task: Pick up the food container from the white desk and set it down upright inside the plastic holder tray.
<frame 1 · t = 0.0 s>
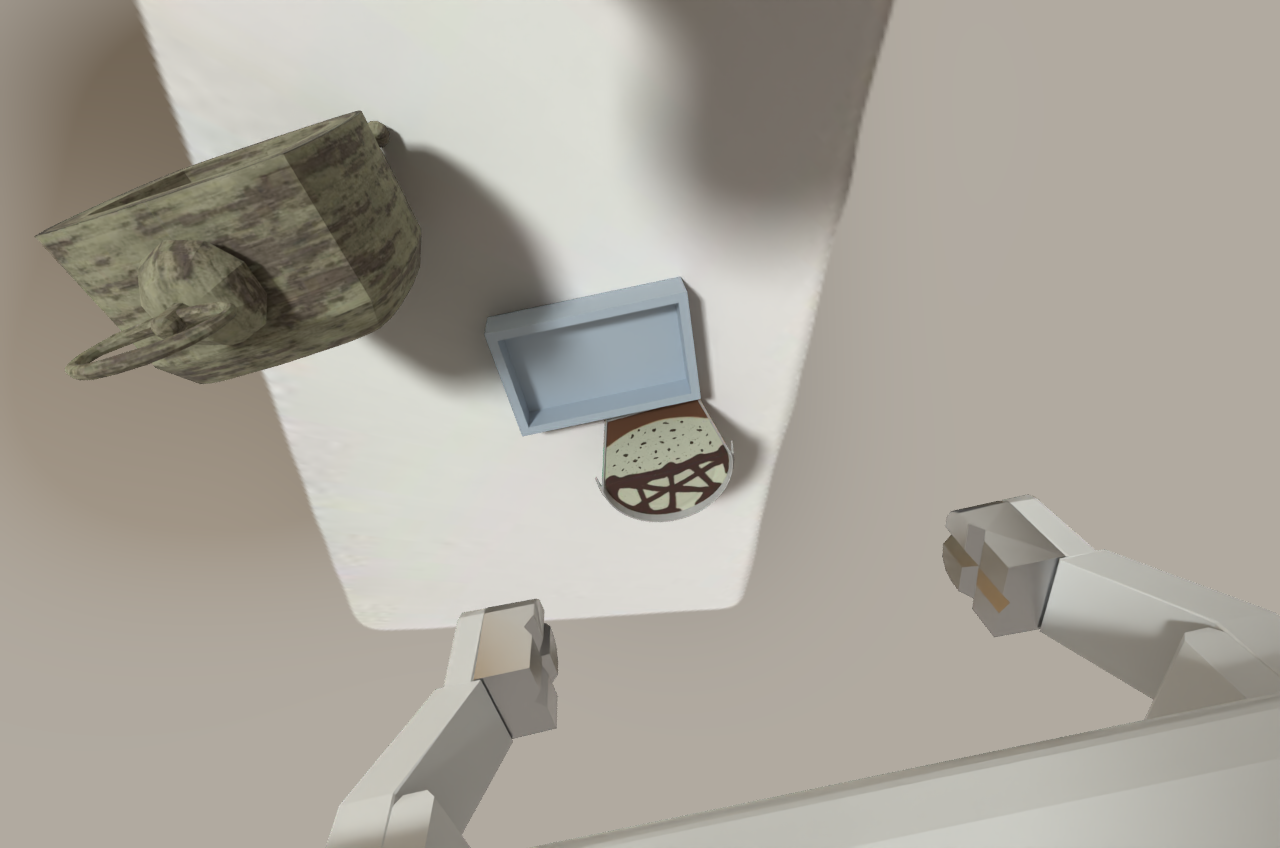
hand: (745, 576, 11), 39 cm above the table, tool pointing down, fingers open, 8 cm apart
food container: (657, 429, 58), on the table
holder tray: (597, 350, 52), on the table
tabletop clock: (332, 194, 42), on the table
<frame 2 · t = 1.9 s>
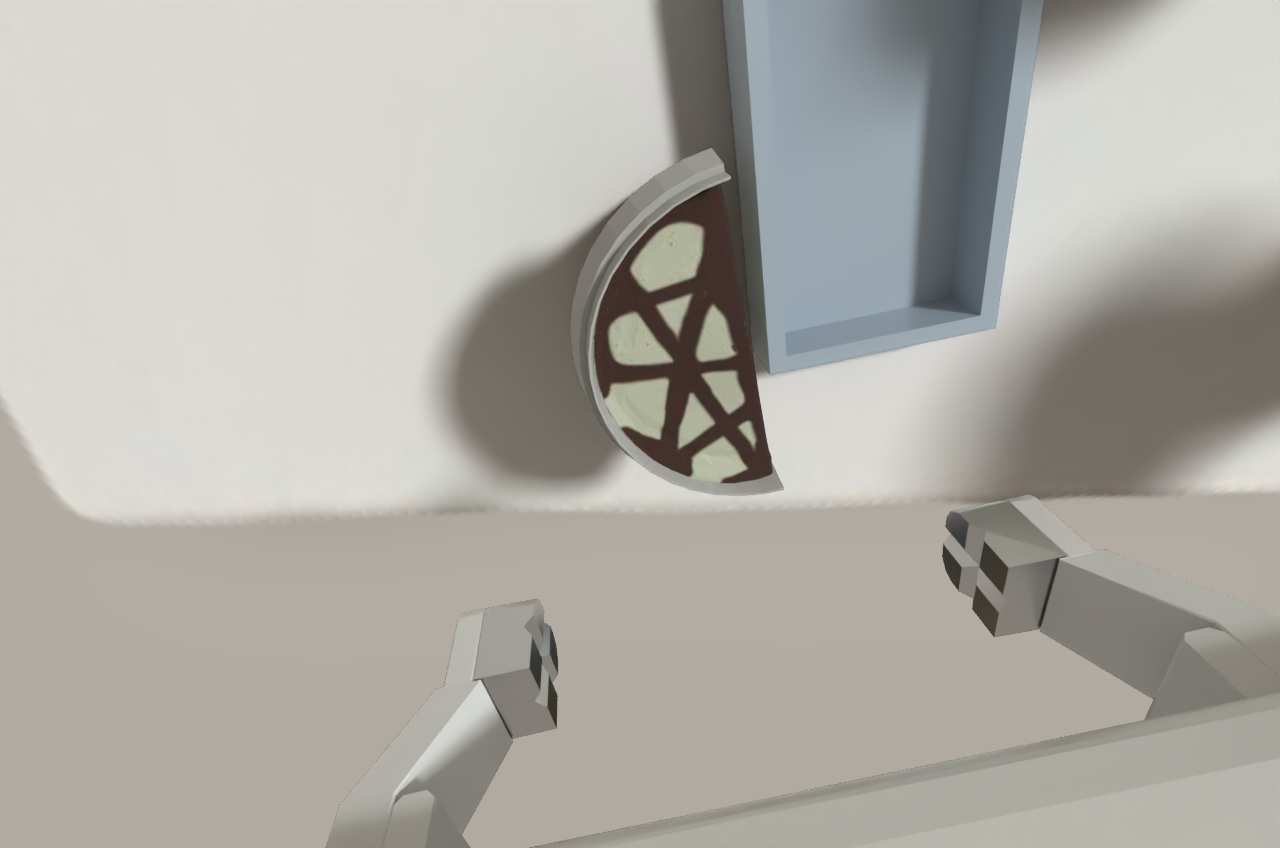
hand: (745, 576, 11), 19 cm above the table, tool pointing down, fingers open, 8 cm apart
food container: (639, 287, 28), on the table
holder tray: (857, 151, 25), on the table
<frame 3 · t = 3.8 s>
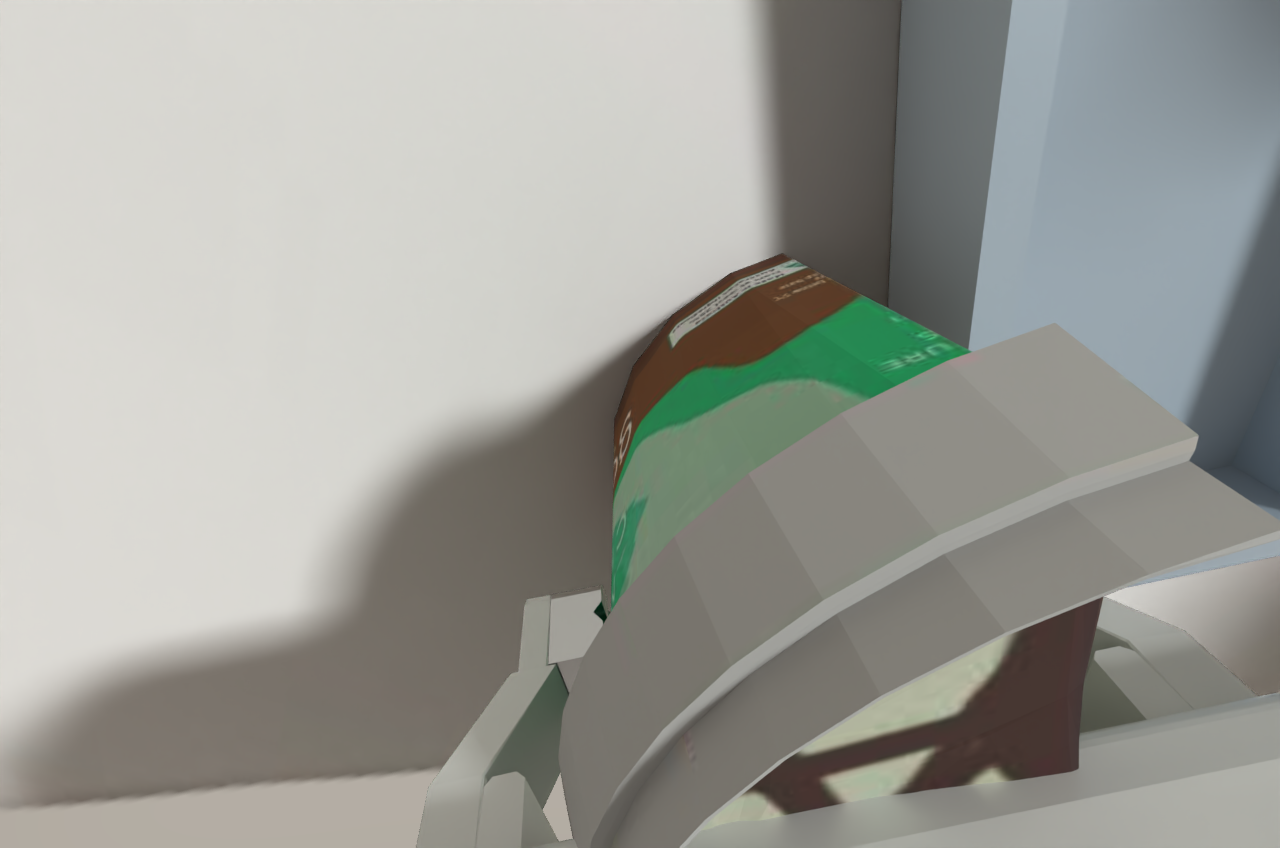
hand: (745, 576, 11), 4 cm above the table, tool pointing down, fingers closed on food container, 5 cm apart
food container: (688, 457, 15), on the table, touching gripper
holder tray: (1123, 221, 13), on the table
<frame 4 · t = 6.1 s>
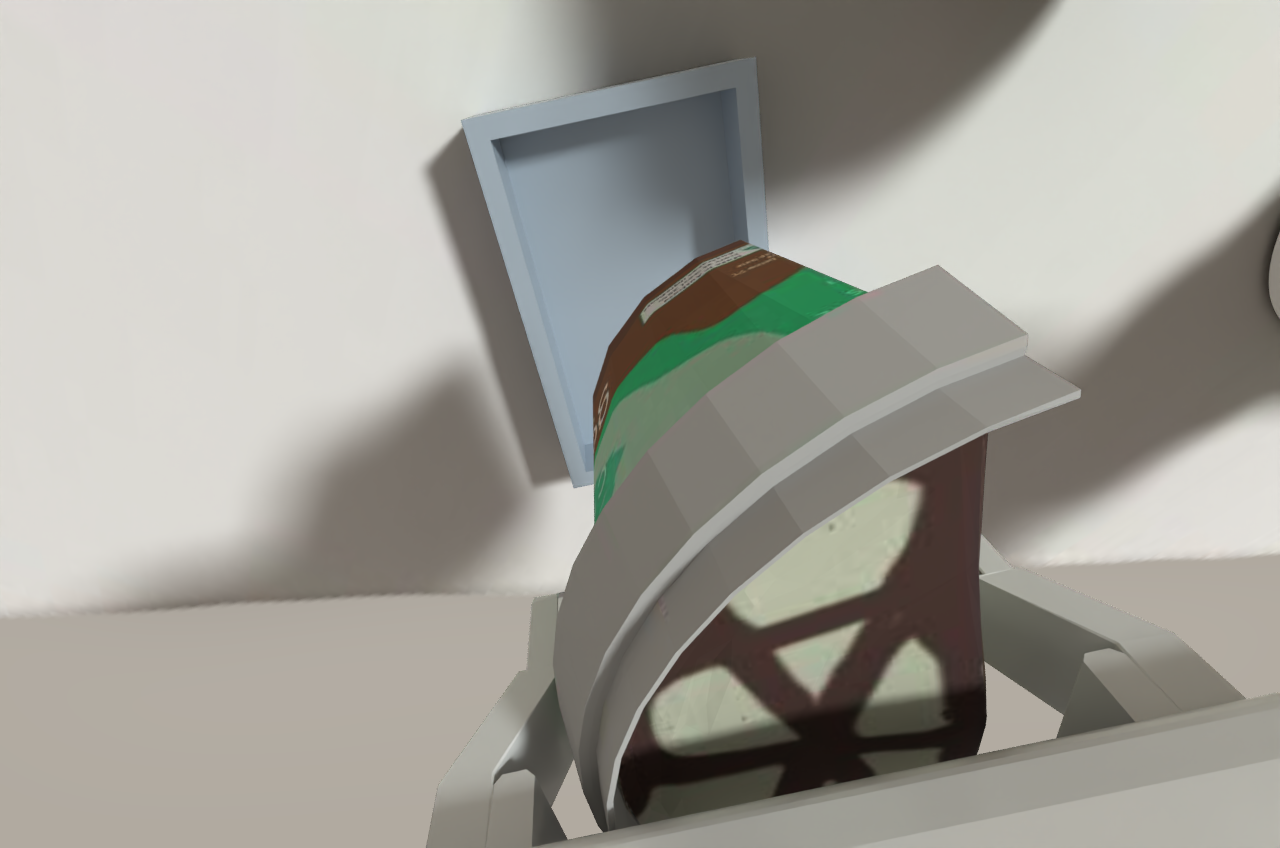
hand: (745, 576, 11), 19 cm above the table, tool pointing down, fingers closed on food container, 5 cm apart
food container: (662, 431, 16), point 13 cm above the table, touching gripper
holder tray: (641, 287, 27), on the table
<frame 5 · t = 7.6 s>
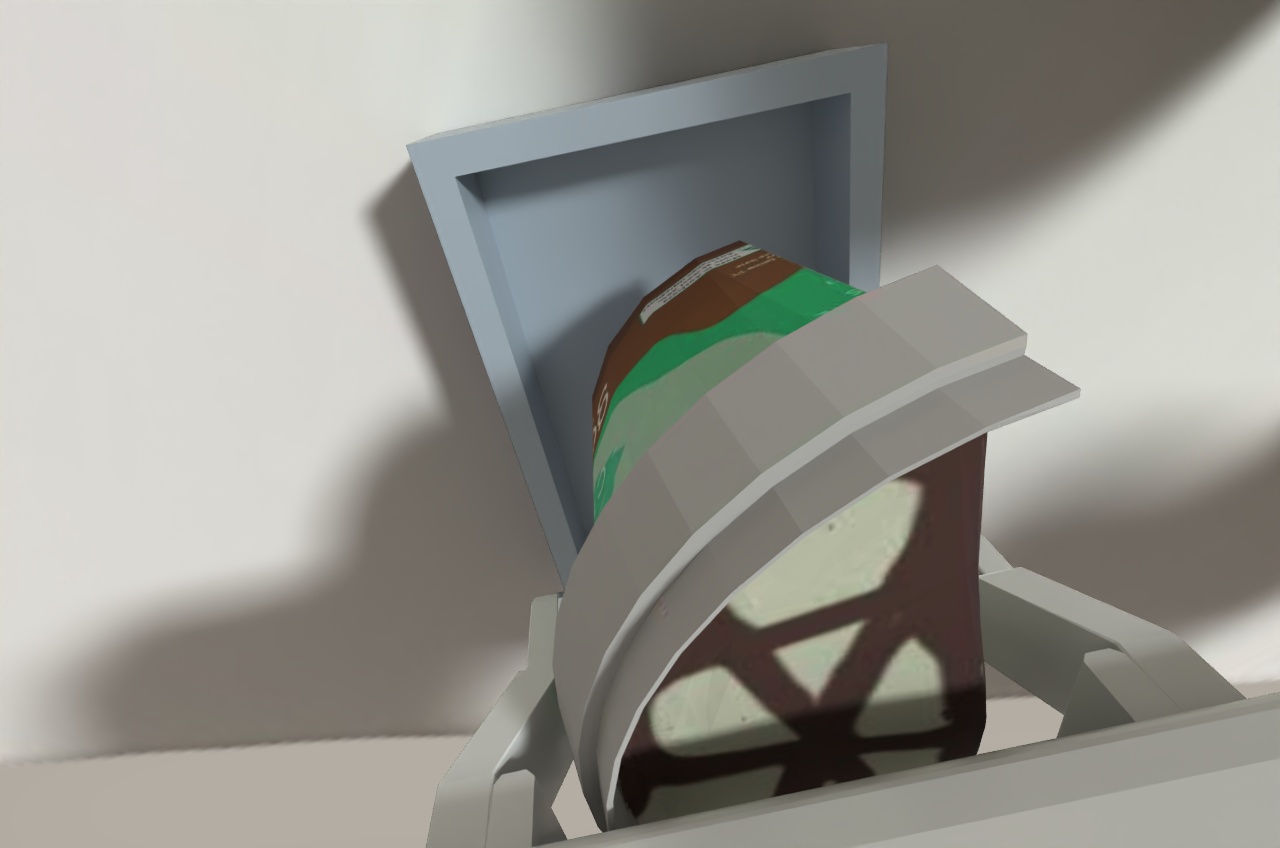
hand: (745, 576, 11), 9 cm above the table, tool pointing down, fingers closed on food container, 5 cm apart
food container: (661, 432, 16), point 3 cm above the table, touching gripper
holder tray: (679, 372, 19), on the table
when the fingers open (7 cm above the table, at t = 8.7 s): food container moves 1 cm, resting on holder tray.
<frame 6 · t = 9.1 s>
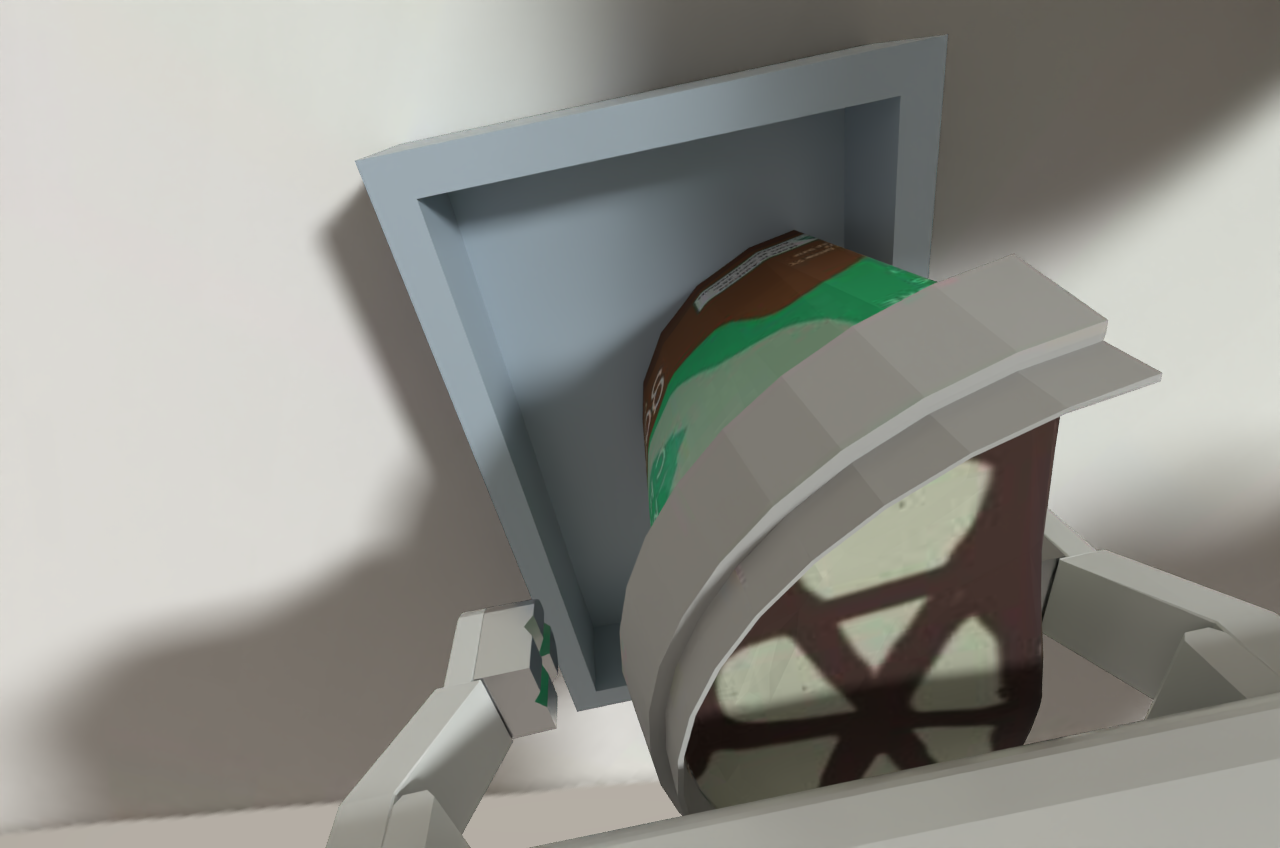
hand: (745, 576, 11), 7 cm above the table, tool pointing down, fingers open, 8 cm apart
food container: (708, 418, 17), resting on holder tray
holder tray: (685, 413, 17), on the table
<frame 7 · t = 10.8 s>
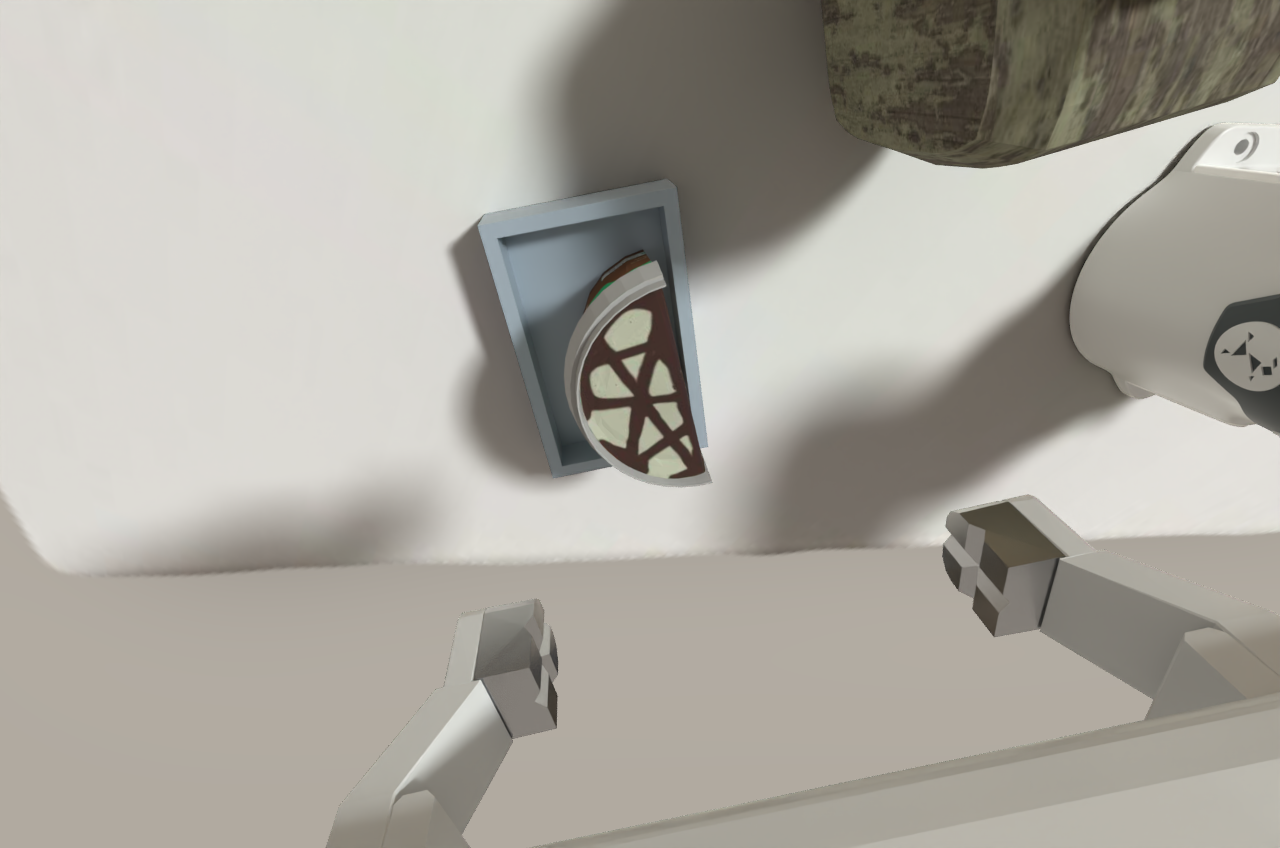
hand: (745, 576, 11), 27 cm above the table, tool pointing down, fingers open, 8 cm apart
food container: (613, 333, 37), resting on holder tray
holder tray: (604, 331, 37), on the table
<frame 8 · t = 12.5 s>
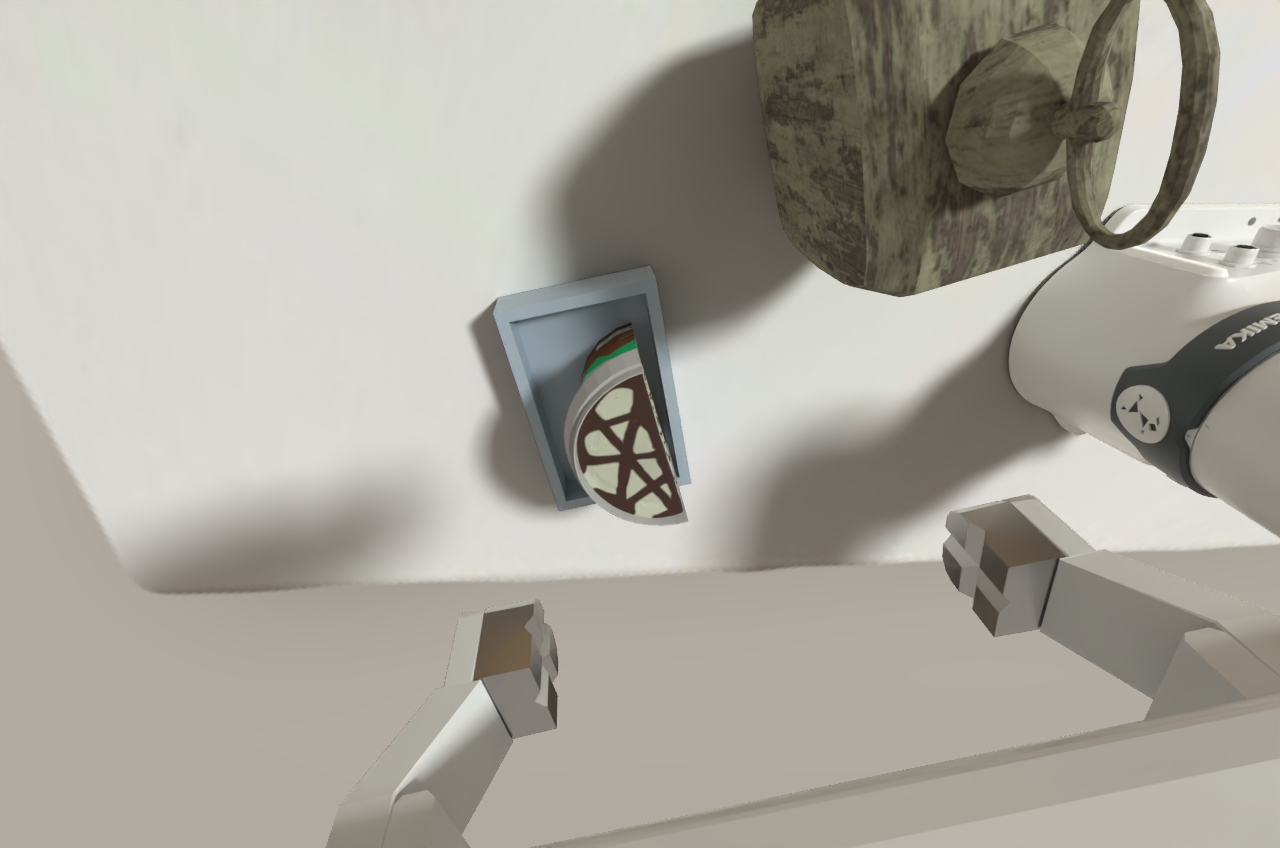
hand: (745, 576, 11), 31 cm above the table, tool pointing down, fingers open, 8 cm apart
food container: (608, 389, 43), resting on holder tray
holder tray: (600, 387, 44), on the table
tabletop clock: (815, 101, 36), on the table
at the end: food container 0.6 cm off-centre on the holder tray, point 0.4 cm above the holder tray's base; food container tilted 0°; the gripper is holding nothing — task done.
